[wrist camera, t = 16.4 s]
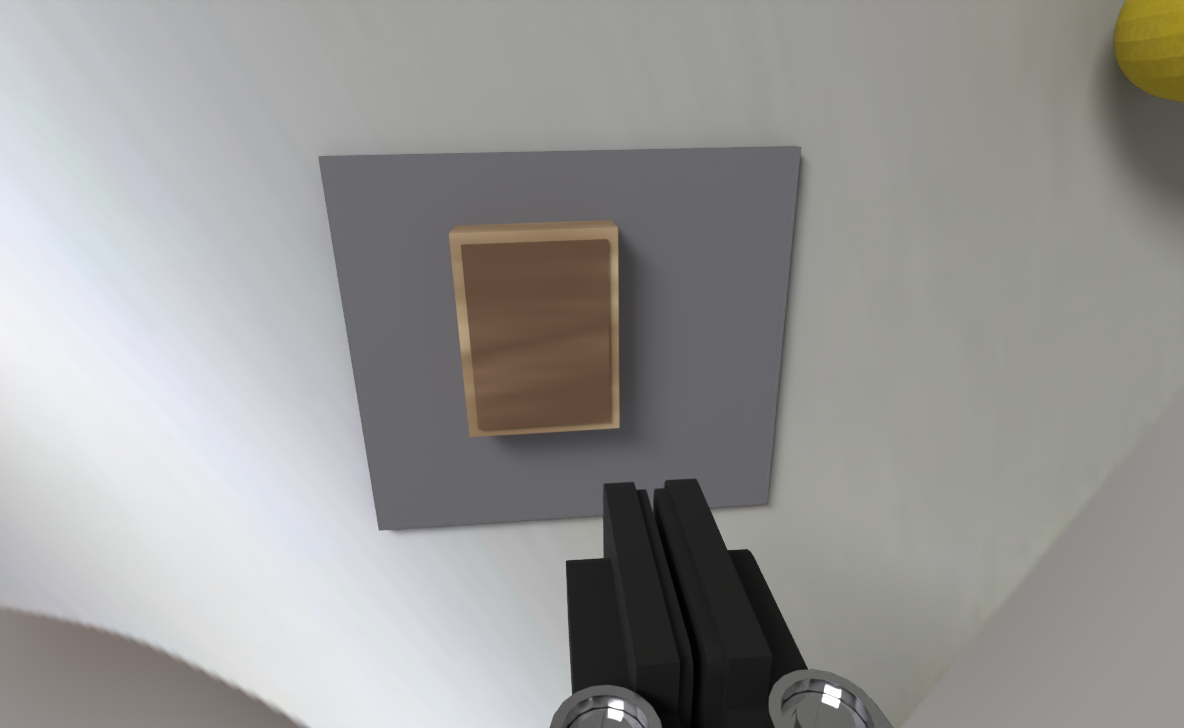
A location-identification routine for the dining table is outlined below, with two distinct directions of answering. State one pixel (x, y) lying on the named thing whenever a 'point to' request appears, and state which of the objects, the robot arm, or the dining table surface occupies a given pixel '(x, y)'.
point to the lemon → (1152, 46)
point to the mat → (646, 324)
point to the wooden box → (538, 325)
